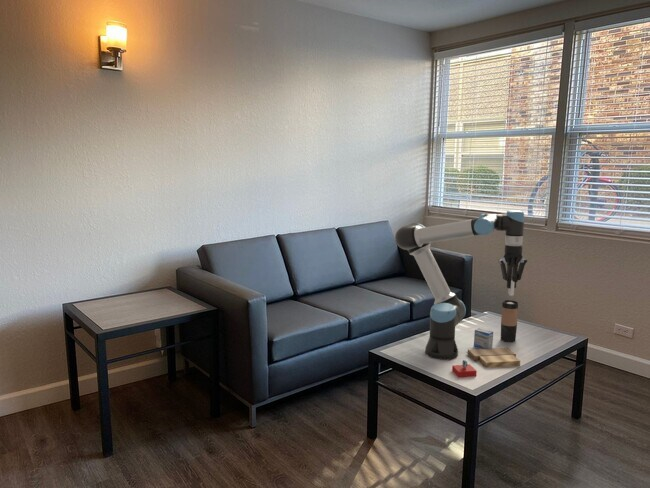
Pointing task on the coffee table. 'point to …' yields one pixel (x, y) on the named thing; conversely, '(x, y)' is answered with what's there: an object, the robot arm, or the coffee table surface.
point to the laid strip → (489, 352)
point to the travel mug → (509, 320)
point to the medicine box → (483, 339)
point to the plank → (499, 361)
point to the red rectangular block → (464, 370)
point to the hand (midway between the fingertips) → (510, 294)
